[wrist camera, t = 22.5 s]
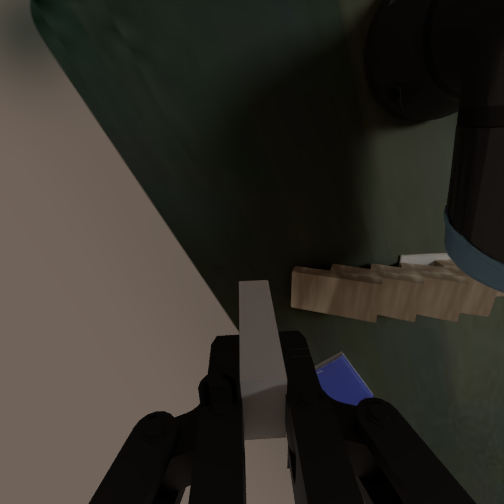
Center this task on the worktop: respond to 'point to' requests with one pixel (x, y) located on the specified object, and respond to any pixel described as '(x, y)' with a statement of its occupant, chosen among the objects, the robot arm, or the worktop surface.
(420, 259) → the end pad
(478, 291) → the domino
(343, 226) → the worktop surface
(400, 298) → the domino
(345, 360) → the hard drive
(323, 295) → the domino
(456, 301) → the domino
